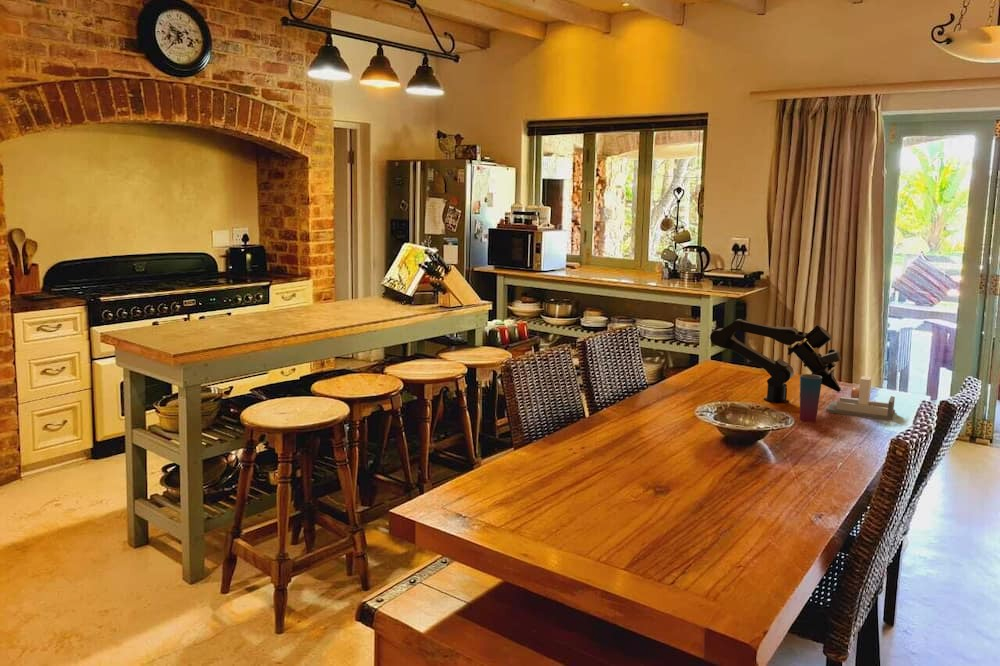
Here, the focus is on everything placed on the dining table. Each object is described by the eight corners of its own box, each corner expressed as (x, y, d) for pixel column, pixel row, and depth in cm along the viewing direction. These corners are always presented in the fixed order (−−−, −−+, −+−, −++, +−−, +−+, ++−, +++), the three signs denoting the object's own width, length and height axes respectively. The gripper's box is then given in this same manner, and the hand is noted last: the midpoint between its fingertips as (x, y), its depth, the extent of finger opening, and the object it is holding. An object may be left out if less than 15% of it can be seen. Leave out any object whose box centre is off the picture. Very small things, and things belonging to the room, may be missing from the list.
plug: (849, 408, 264) (852, 378, 262) (851, 405, 269) (854, 375, 267) (867, 411, 261) (869, 380, 259) (868, 407, 266) (871, 377, 264)
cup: (795, 421, 254) (799, 377, 251) (798, 416, 260) (801, 373, 257) (817, 423, 251) (821, 379, 248) (819, 418, 257) (823, 375, 254)
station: (826, 411, 265) (827, 395, 264) (831, 404, 275) (832, 388, 274) (891, 420, 255) (893, 403, 254) (894, 412, 265) (896, 395, 264)
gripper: (822, 346, 259) (855, 382, 256) (831, 338, 275) (862, 372, 271) (796, 366, 265) (828, 401, 261) (806, 357, 281) (836, 390, 277)
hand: (839, 390), depth 267 cm, fingers closed
